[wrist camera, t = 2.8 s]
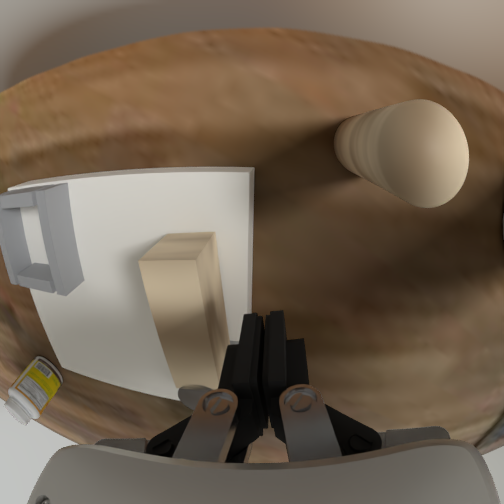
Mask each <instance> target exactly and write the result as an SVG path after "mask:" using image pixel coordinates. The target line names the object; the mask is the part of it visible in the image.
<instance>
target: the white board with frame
mask: <svg viewBox="0 0 504 504" xmlns="http://www.w3.org/2000/svg"><path fill="white" fill-rule="evenodd" d="M254 170H255V167H171V168H148V169H131V170H118V171H106V172H95V173H85V174H77V175H68V176H61V177H53V178H46V179H40V180H33V181H29V182H25V183H22V184H19V185H16V186H13V187H10V188H8V192H5V193H2V194H0V246H1V250H2V254H3V257H4V261H5V265H6V268H7V272H8V275H9V278H10V281H11V284H15V285H18V284H20V286H23V287H27V288H30V291H31V294H32V297H33V300H34V303H35V306H36V308H37V311H38V314H39V316H40V319H41V322H42V324H43V327H44V329H45V331H46V334H47V336H48V338H49V341H50V343H51V345H52V348H53V350H54V352H55V354H56V356H57V358H58V360H59V362H60V364H61V366H62V367H63V368H65V369H68V370H70V371H73V372H76V373H79V374H82V375H84V376H87V377H90V378H93V379H96V380H100V381H103V382H106V383H109V384H113V385H116V386H120V387H123V388H127V389H130V390H134V391H138V392H142V393H146V394H150V395H155V396H159V397H164V398H169V399H174V400H179V401H180V399H179V397H178V390H179V388H176V386H175V383H174V381H173V378H172V375H171V372H170V370H169V367H168V364H167V361H166V358H165V355H164V352H163V349H162V346H161V343H160V340H159V336H158V333H157V330H156V327H155V323H154V320H153V317H152V313H151V310H150V306H149V302H148V299H147V295H146V291H145V287H144V283H143V279H142V275H141V271H140V267H139V263H138V260H139V259H141V258H142V257H143V256H144V255H145V254H146V253H147V252H148V251H149V250H150V249H151V248H152V247H153V246H155V245H156V244H157V243H158V242H159V241H160V240H161V239H162V238H163V237H165V236H166V235H167V234H173V233H194V232H215V233H216V241H217V250H218V258H219V266H220V274H221V282H222V289H223V297H224V304H225V311H226V319H227V326H228V332H229V339H230V345H232V344H239V339H240V333H241V327H242V321H243V316H244V314H250V313H251V310H252V264H253V217H254Z"/></svg>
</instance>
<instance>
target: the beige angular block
mask: <svg viewBox="0 0 504 504" xmlns="http://www.w3.org/2000/svg"><path fill="white" fill-rule="evenodd" d="M138 263H139V267H140V271H141V275H142V279H143V283H144V287H145V291H146V295H147V299H148V302H149V306H150V310H151V313H152V317H153V320H154V323H155V327H156V330H157V333H158V336H159V340H160V343H161V346H162V349H163V352H164V355H165V358H166V361H167V364H168V367H169V370H170V372H171V375H172V378H173V381H174V383H175V386H176V388H179V390H178V397H179V399H180V401H181V402H182V403H183V404H184V405H185V406H187V407H188V408H190V409H192V410H195V408H196V406H197V404H198V401H199V400H200V398H201V397H202V396H203V395H204V394H205V393H207V392H209V391H211V390H215V389H218V385H219V381H220V376H221V372H222V367H223V363H224V358H225V353H226V349H227V346H228V345H230V339H229V332H228V326H227V319H226V311H225V304H224V297H223V289H222V282H221V274H220V266H219V258H218V250H217V241H216V233H215V232H194V233H173V234H167V235H166V236H165V237H163V238H162V239H161V240H160V241H159V242H158V243H157V244H156V245H155V246H153V247H152V248H151V249H150V250H149V251H148V252H147V253H146V254H145V255H144V256H143V257H142V258H141V259H139V260H138Z"/></svg>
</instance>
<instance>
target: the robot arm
mask: <svg viewBox="0 0 504 504" xmlns="http://www.w3.org/2000/svg"><path fill="white" fill-rule="evenodd" d="M503 238H504V215H503ZM268 418H270V422H271V427H272V428H274V431H275V436H276V437H277V438H278V439H280V440H281V441H282V442H284V443H285V444H286V449H287V454H288V459H289V462H284V463H248V460H249V457H250V453H251V450H252V442H253V441H255V440H256V439H257V438H259V436H263V429H265V428H268ZM27 504H500V500H499V496H498V493H497V490H496V487H495V484H494V481H493V478H492V476H491V473H490V471H489V469H488V466H487V464H486V462H485V460H484V459H483V457H482V455H481V454H480V452H479V451H478V450H477V449H476V448H475V447H474V446H473V445H472V444H470V443H468V442H465V441H461V440H455V439H450V435H449V433H448V432H447V431H446V429H444V428H442V427H440V426H431V427H421V428H410V429H395V430H386V432H376V431H375V430H373V429H372V428H370V427H368V426H366V425H364V424H362V423H360V422H358V421H356V420H354V419H352V418H350V417H348V416H346V415H344V414H342V413H341V412H339V411H337V410H335V409H333V408H331V407H330V406H328V405H326V404H324V401H323V398H322V395H321V393H320V392H319V390H318V389H316V388H315V387H313V386H311V385H309V379H308V370H307V361H306V352H305V344H304V338H303V339H294V340H287V337H286V328H285V320H284V312H283V310H281V311H271V312H270V315H266V319H265V329H264V323H263V317H262V316H258V315H257V313H250V314H244V316H243V321H242V327H241V333H240V339H239V344H232V345H228V346H227V349H226V353H225V358H224V363H223V367H222V372H221V376H220V381H219V385H218V389H215V390H211V391H209V392H207V393H205V394H204V395H203V396H202V397H201V398H200V400H199V401H198V404H197V406H196V408H195V410H194V412H193V414H192V415H191V416H190V417H188V418H186V419H185V420H183V421H181V422H179V423H178V424H176V425H174V426H173V427H171V428H169V429H167V430H166V431H164V432H162V433H160V434H158V435H157V436H155V437H154V438H152V439H151V440H146V438H137V439H101V440H100V441H98V442H96V443H95V445H93V444H80V445H71V446H67V447H63V448H61V449H59V450H58V451H57V452H56V453H55V454H54V455H53V456H52V457H51V459H50V460H49V461H48V463H47V464H46V466H45V468H44V470H43V471H42V473H41V475H40V477H39V479H38V481H37V483H36V485H35V487H34V489H33V491H32V493H31V496H30V498H29V500H28V503H27Z"/></svg>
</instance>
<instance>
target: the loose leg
mask: <svg viewBox="0 0 504 504" xmlns="http://www.w3.org/2000/svg"><path fill="white" fill-rule="evenodd" d="M334 150H335V154H336V156H337V158H338V160H339V162H340V163H341V164H342V165H343V166H344V167H345V168H346V169H347V170H349V171H350V172H352V173H354V174H356V175H358V176H360V177H362V178H364V179H366V180H368V181H370V182H372V183H374V184H376V185H377V186H379V187H381V188H383V189H385V190H387V191H388V192H390V193H392V194H394V195H395V196H397V197H399V198H401V199H402V200H404V201H406V202H408V203H409V204H411V205H414V206H417V207H422V208H433V207H437V206H440V205H443V204H445V203H446V202H448V201H449V200H451V199H452V198H453V197H454V196H455V195H456V194H457V193H458V191H459V190H460V188H461V187H462V185H463V183H464V181H465V178H466V175H467V171H468V165H469V150H468V145H467V141H466V137H465V135H464V132H463V130H462V128H461V126H460V124H459V123H458V121H457V120H456V118H455V117H454V116H453V115H452V114H451V113H450V112H449V111H448V110H447V109H445V108H444V107H443V106H441V105H439V104H437V103H435V102H432V101H429V100H422V99H417V100H410V101H406V102H402V103H398V104H395V105H391V106H387V107H383V108H380V109H376V110H373V111H369V112H366V113H362V114H359V115H356V116H353V117H350V118H348V119H346V120H345V121H343V122H342V123H341V124H340V126H339V127H338V129H337V130H336V133H335V136H334Z"/></svg>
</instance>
